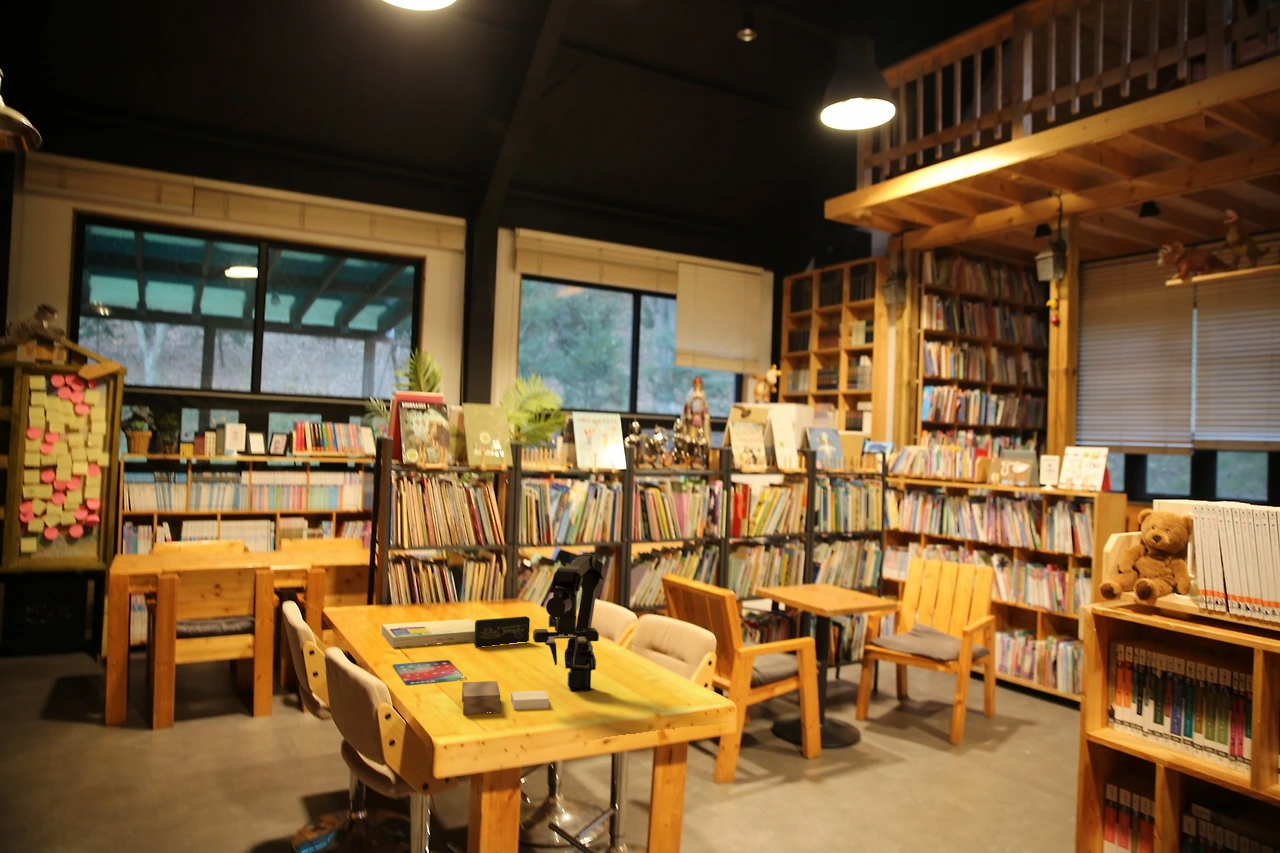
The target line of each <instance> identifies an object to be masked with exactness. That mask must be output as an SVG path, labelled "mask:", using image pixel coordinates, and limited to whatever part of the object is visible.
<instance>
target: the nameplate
mask: <svg viewBox="0 0 1280 853" xmlns="http://www.w3.org/2000/svg"><path fill="white" fill-rule="evenodd" d="M530 620H531V619H530V618H529V617H528V616H525V615H524V616H512V617H499V618H487V619H483V618H482V619H477V620H475V639H474V642H473V643H474V644H473V645H474V646H476V648H477V647H481V648H483V647H482V646H492V645H500V644H509V643H517V642H527V641H529V642H530V626H531V625H530V622H531V621H530ZM492 647H493V646H492Z"/></svg>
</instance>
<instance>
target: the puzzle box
mask: <svg viewBox="0 0 1280 853" xmlns="http://www.w3.org/2000/svg"><path fill="white" fill-rule="evenodd" d="M475 622H476V620H473V619H472V618H466V619H449V620H435V621H433V620H432V621H418V622H417V621H416V622H415V621H413V622H402V623H401V622H400V623H386V624H381V636H382V635H383V636H384V637H385V638H386V639H385V638H384V637H383V636H382V637H383V638H384V639H385V640H386V642H387V643H388V642H389V643H390V644H389V643H388V644H389V646H391V647H392V649H397V648H396V647H400V648H407V647H406V646H412V647H416V646H415V645H425V644H437V643H451V644H454V643H453V642H463V641H474V639H475ZM463 643H464V642H463ZM425 646H426V645H425Z"/></svg>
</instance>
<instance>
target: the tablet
mask: <svg viewBox="0 0 1280 853" xmlns="http://www.w3.org/2000/svg"><path fill="white" fill-rule="evenodd" d="M392 668H393V669H394V671H395V672H396V673H397V675H398V676H399V678H400V679H401V680H402V682H403V683H404V684H405V685H406V686H416V685H427V684H436V683H439V684H440V683H447V682H458V681H457V680H460V681H464V680H463V679H464V678H466V676H465V677H464V678H461V677H462V676H463V675H464V674H463V673H462V672H461V671H460V670H459V669H458V668H457V667H456V665H454V663H453V662H452V661H451V660H449V659H444V660H429V661H418V662H407V663H396V664H395V663H394V664H392ZM461 679H462V680H461Z"/></svg>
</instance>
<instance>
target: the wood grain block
mask: <svg viewBox="0 0 1280 853" xmlns="http://www.w3.org/2000/svg"><path fill="white" fill-rule="evenodd" d="M461 691H462V692H461V701H462V702H463V703H462V704H463V705H462V715H463V714H465V715H473V714H472V713H487V712H488V713H489V712H491V713H489V714H495V713H494V712H500V711H501V691H500V687H499V683H498V681H497V680H495V681H494V680H493V681H492V680H491V681H490V680H488V681H466V682H465V681H463V682H462V690H461Z"/></svg>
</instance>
